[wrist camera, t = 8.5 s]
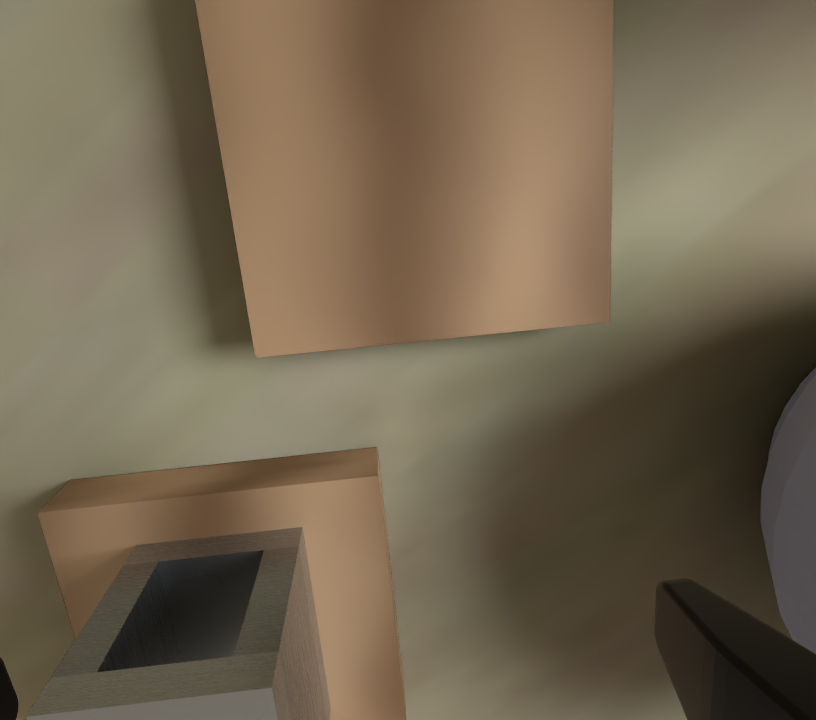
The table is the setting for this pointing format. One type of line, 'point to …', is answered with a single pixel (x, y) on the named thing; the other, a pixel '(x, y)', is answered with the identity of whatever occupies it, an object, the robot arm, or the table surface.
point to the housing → (199, 637)
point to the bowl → (793, 513)
